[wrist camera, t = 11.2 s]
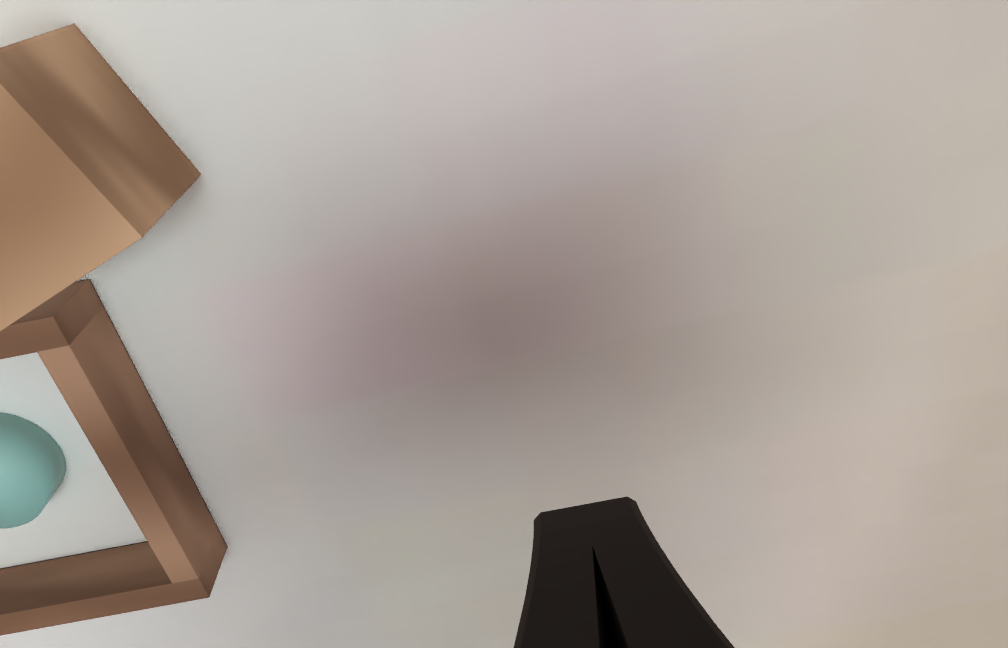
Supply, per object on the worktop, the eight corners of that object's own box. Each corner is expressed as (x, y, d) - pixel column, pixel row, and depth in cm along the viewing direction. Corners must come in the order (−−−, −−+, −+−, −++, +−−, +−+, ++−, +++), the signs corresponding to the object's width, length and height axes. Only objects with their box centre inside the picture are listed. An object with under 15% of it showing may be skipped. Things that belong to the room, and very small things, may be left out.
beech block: (202, 173, 18) (142, 237, 15) (80, 254, 19) (-4, 333, 16) (76, 23, 17) (-26, 56, 13) (-52, 119, 18) (-178, 174, 14)
